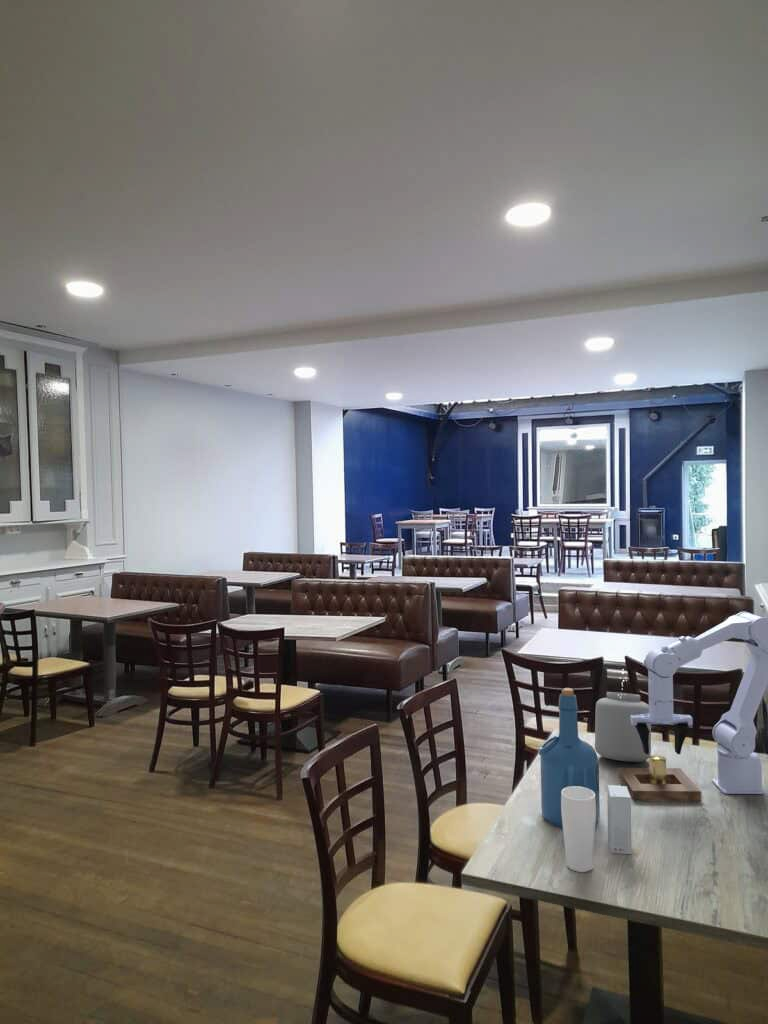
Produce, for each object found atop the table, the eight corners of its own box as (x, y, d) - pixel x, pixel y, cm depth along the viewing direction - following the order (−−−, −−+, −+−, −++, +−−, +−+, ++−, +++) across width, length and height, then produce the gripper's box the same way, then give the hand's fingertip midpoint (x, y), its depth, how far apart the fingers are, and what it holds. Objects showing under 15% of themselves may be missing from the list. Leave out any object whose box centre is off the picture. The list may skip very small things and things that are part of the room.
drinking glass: (557, 858, 142) (556, 786, 141) (589, 856, 142) (588, 784, 142) (569, 876, 135) (567, 801, 135) (602, 874, 135) (601, 799, 135)
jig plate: (680, 777, 180) (680, 768, 180) (701, 801, 166) (701, 791, 166) (617, 777, 181) (617, 767, 181) (633, 800, 167) (633, 790, 167)
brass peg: (662, 785, 175) (662, 754, 175) (669, 792, 171) (668, 760, 171) (646, 786, 175) (646, 755, 175) (653, 793, 171) (653, 761, 171)
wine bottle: (603, 810, 162) (601, 684, 162) (595, 836, 150) (593, 700, 150) (545, 801, 168) (543, 679, 168) (533, 825, 156) (530, 694, 156)
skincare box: (632, 855, 142) (631, 797, 142) (610, 853, 143) (609, 796, 143) (628, 840, 148) (627, 785, 148) (607, 839, 149) (606, 784, 149)
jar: (602, 743, 205) (601, 660, 205) (655, 751, 199) (654, 665, 198) (590, 766, 189) (588, 675, 188) (647, 775, 182) (646, 681, 181)
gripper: (635, 703, 169) (636, 758, 169) (696, 703, 167) (697, 758, 168) (627, 695, 176) (628, 748, 176) (686, 695, 174) (687, 748, 175)
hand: (661, 752), depth 172 cm, fingers open, 7 cm apart
